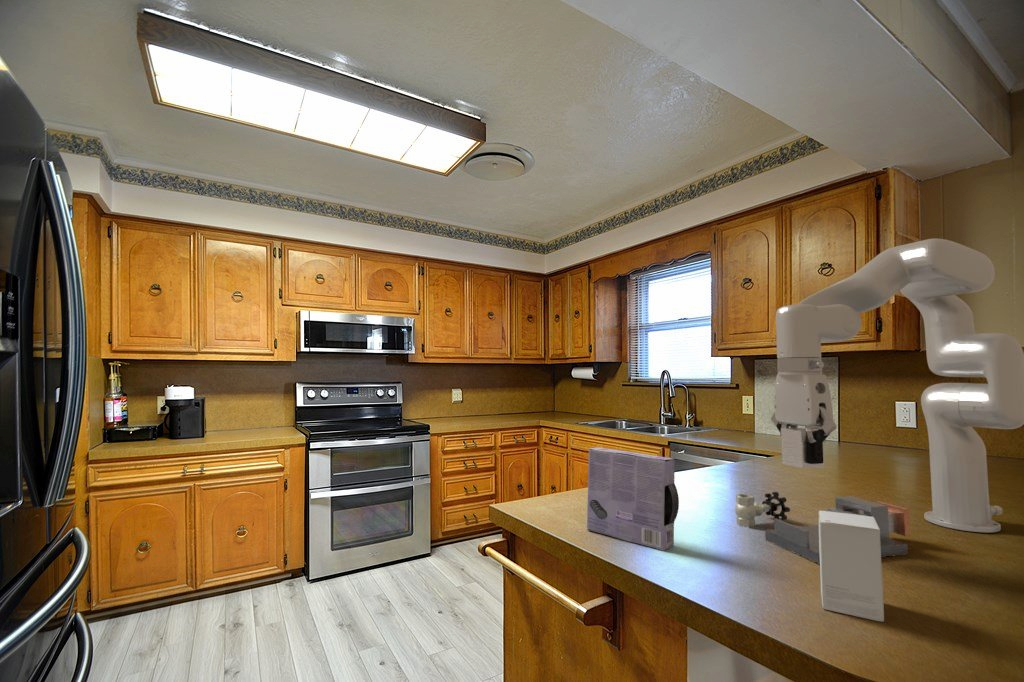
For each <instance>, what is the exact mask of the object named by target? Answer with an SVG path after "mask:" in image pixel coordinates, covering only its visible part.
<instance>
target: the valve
mask: <svg viewBox="0 0 1024 682" xmlns="http://www.w3.org/2000/svg"><path fill="white" fill-rule="evenodd" d="M772 495H773V496H772ZM779 496H780V494H779V492H778V491H772V493H770V492H769V493H765V494H764V497H765V498H767V499H765V500H764V501H762V503H759V502H756V501H755V497H754V496H753V495H751V494H746V493H738V494H736V495H735V502H736V504H735V507H734V509H735V510H734V511H735V514H736V525H737V526H739V527H740V526H744V527H743V528H746V527H753V528H755V527H756V519H755V518H756V517H760V516H762V515H763V513H765V514H766V516H771V517H772V520H773V521H774V519H779V520H781V521H786V520H787V519H788V516H787V515H786V514H785V513H790V512H791V508H789V506H786V505H785V503H786V502H787V498H786V497H785V496H783V497H779ZM773 500H776V501H777V502H774V501H773ZM780 507H781V511H780V512H779V513H777V511H778V510H780ZM780 517H781V518H780ZM754 526H755V527H754Z"/></svg>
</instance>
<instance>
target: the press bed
mask: <svg viewBox="0 0 1024 682" xmlns="http://www.w3.org/2000/svg"><path fill="white" fill-rule="evenodd" d="M835 508H837V509H841V510H844V511H853V510H861V511H864V516H871V517H874V518H875V520H876V522H877V524H878V527H879V529H880V544H881V557H884V556H893V555H903V556H905V555H904V554H908V555H909V553H908V552H909V551H908V543H905V542H902V541H899V540H897V539H893V538H890V533H889V522H888V506H886V505H882V504H879V503H875V501H871V500H868V499H864V498H860V497H857V496H852V495H843V496H835ZM773 527H774V528H772V529H771V528H770V529H764V530H765V531H764V532H765V533H764V534H765V541H767V540H768V541H767V542H769V541H770V543H771V542H773V543H775V544H777V545H776V546H778V545H779V546H778V547H780V546H781V547H780V548H782V547H783V548H782V549H784V548H786V549H788V550H790V551H793V552H795V553H797V554H799V555H802V556H804V557H806V558H808V559H811V560H813V561H815V562H817V563H820V553H819V524H818V525H806V526H796V525H794V524H791V523H788V522H786V521H785V520H781V519H780V520H779V519H774V520H773ZM773 543H772V544H773ZM775 544H774V545H775ZM786 549H785V550H786ZM788 550H787V551H788ZM790 551H789V552H790ZM793 552H792V553H793ZM795 553H794V554H795ZM797 554H796V555H797ZM799 555H798V556H799ZM806 558H805V559H806ZM808 559H807V560H808Z"/></svg>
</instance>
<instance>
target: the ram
mask: <svg viewBox="0 0 1024 682" xmlns="http://www.w3.org/2000/svg"><path fill="white" fill-rule="evenodd" d="M874 502H875V503H879V504H882V505H886V506H888V522H889V534H890V533H895V534H897V535H900V536H904V537H909V536H911V531H910V530H911V529H910V528H911V527H910V511H909V510H910V509H909V508H908V507H907V508H906V507H904V506H903V507H902V506H899V505H895V504H892V503H889V502H886V501H881V500H875V501H874ZM827 511H829V512H838V513H847V514H855V515H863V516H864V511H861V510H853V511H844V510H841V509H837V508H836V507H827Z"/></svg>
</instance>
